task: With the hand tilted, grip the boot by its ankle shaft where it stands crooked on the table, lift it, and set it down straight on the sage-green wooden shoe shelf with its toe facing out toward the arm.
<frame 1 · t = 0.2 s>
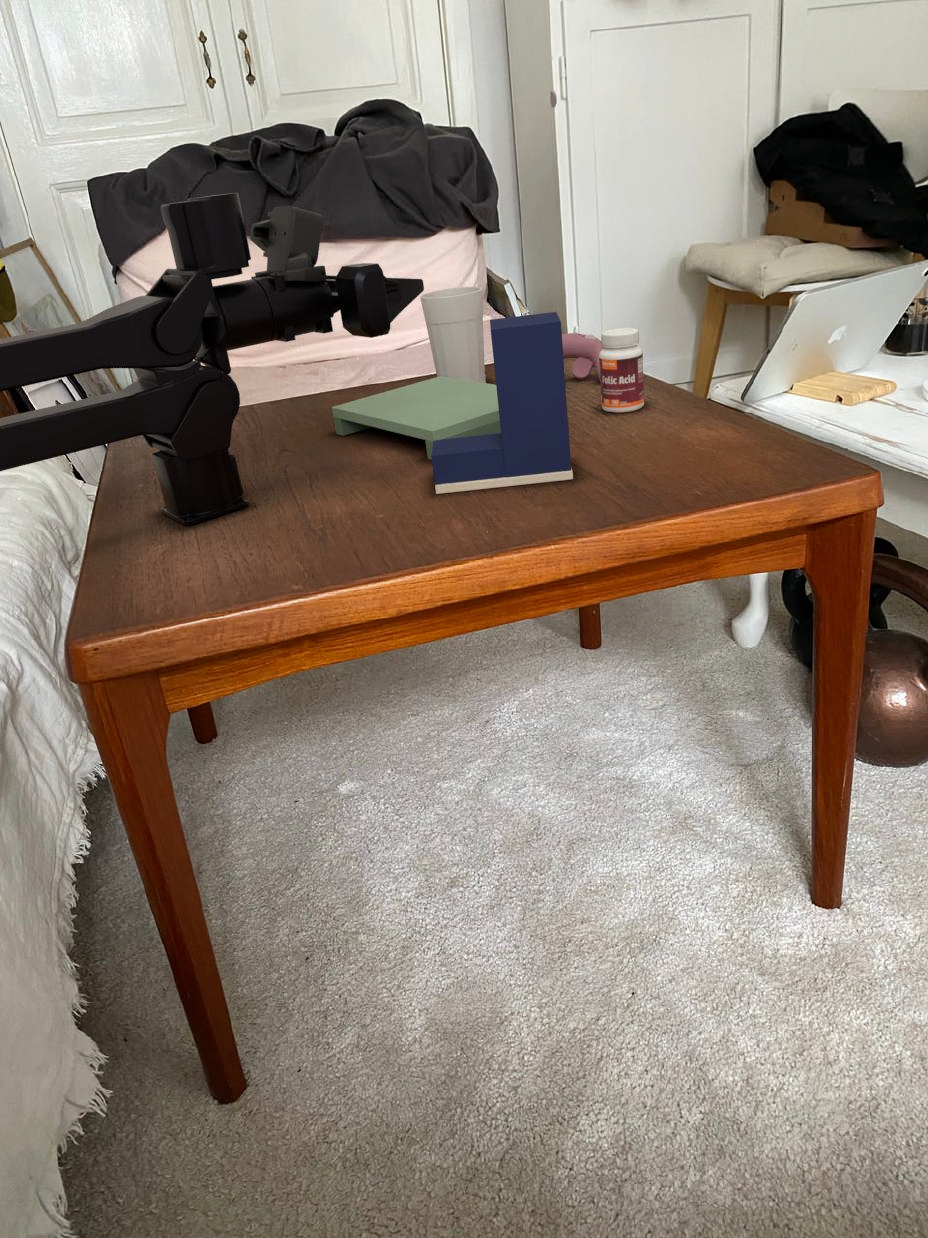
hand: (396, 283, 97), 17 cm above the table, tool horizontal, fingers open, 9 cm apart
cup: (462, 388, 125), on the table
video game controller: (569, 383, 121), on the table
shoe shelf: (441, 428, 108), on the table
boot: (537, 473, 89), on the table
pill bottle: (623, 409, 107), on the table
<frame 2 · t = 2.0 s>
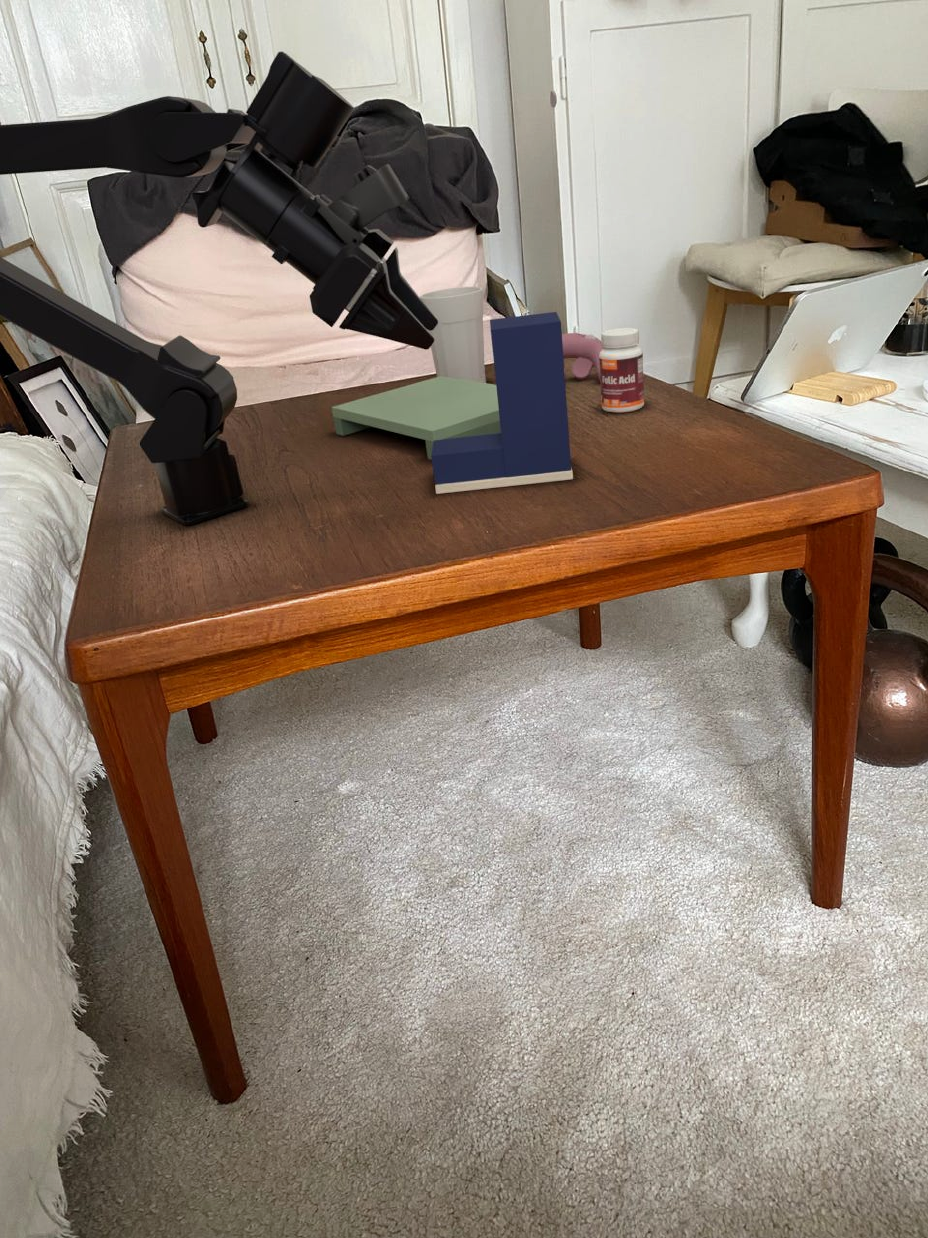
hand: (433, 335, 84), 14 cm above the table, tool tilted 45°, fingers open, 9 cm apart
nothing on the table moved.
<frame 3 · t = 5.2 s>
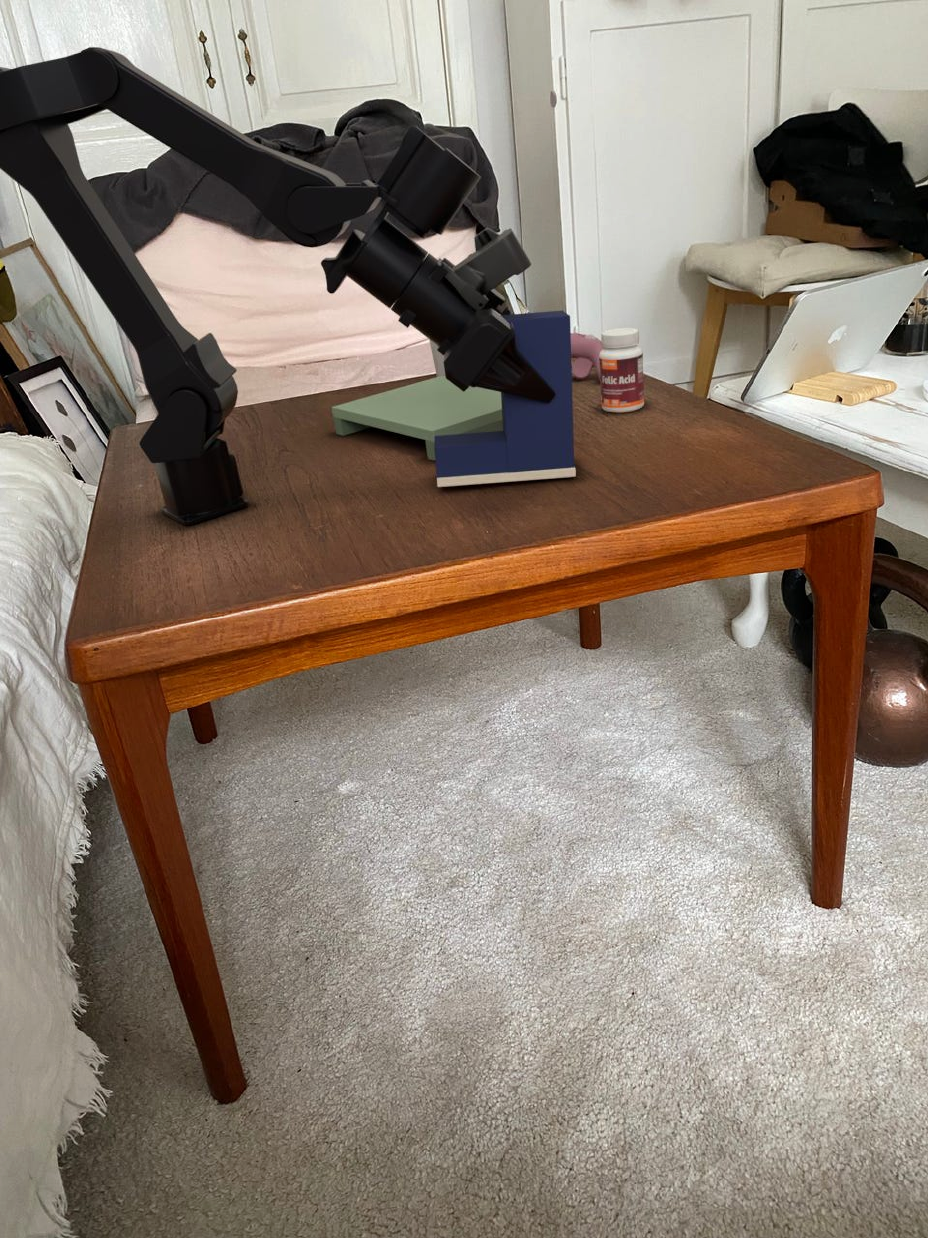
hand: (550, 390, 86), 8 cm above the table, tool tilted 45°, fingers closed on boot, 5 cm apart
boot: (538, 471, 89), on the table, touching gripper
everything else where it was.
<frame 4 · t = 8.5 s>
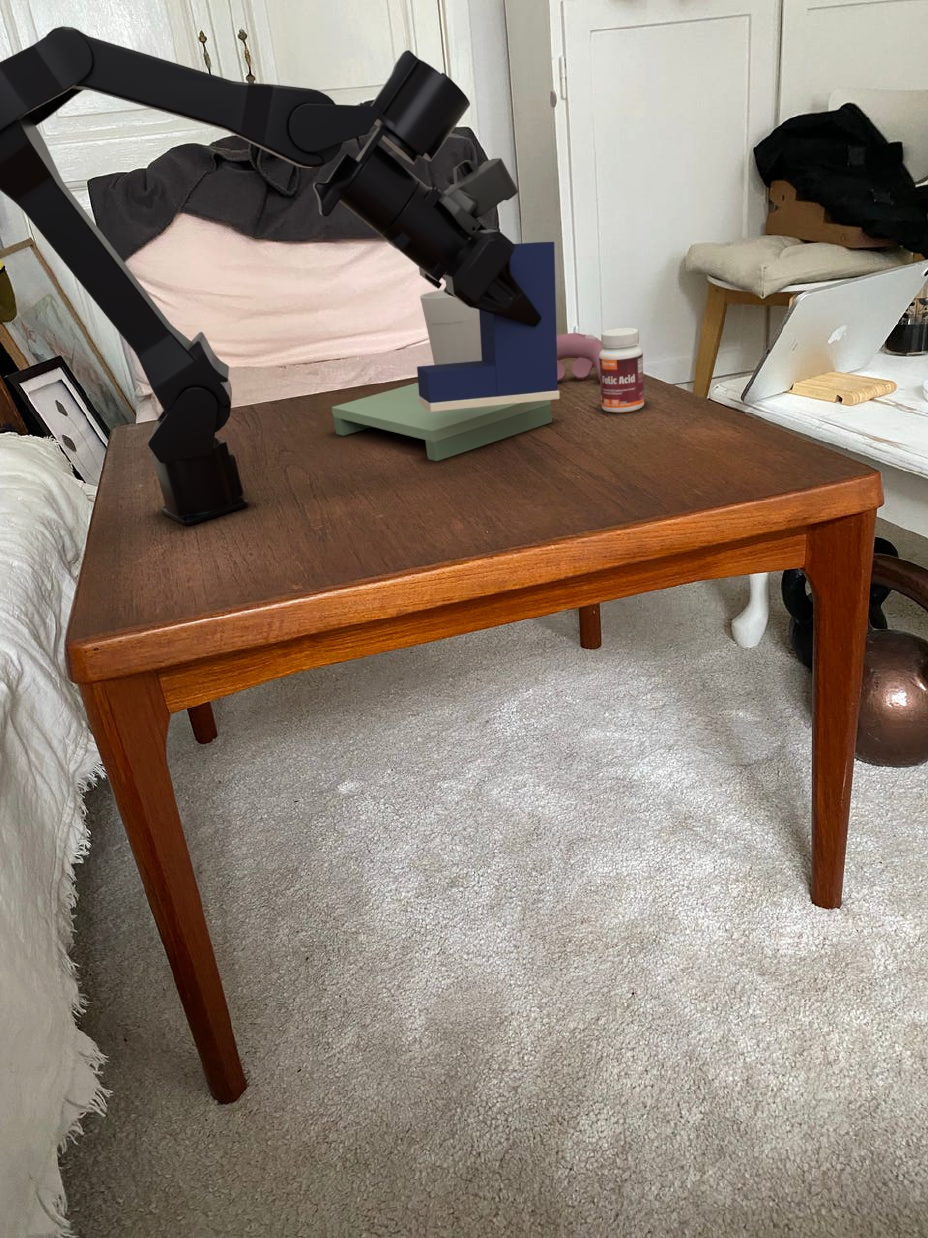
hand: (530, 318, 90), 13 cm above the table, tool tilted 45°, fingers closed on boot, 5 cm apart
boot: (520, 398, 92), point 6 cm above the table, tilted 6°, touching gripper
everything else where it was.
when the fingers open (11 cm above the table, at t = 12.3 s): boot stays where it is, resting on shoe shelf.
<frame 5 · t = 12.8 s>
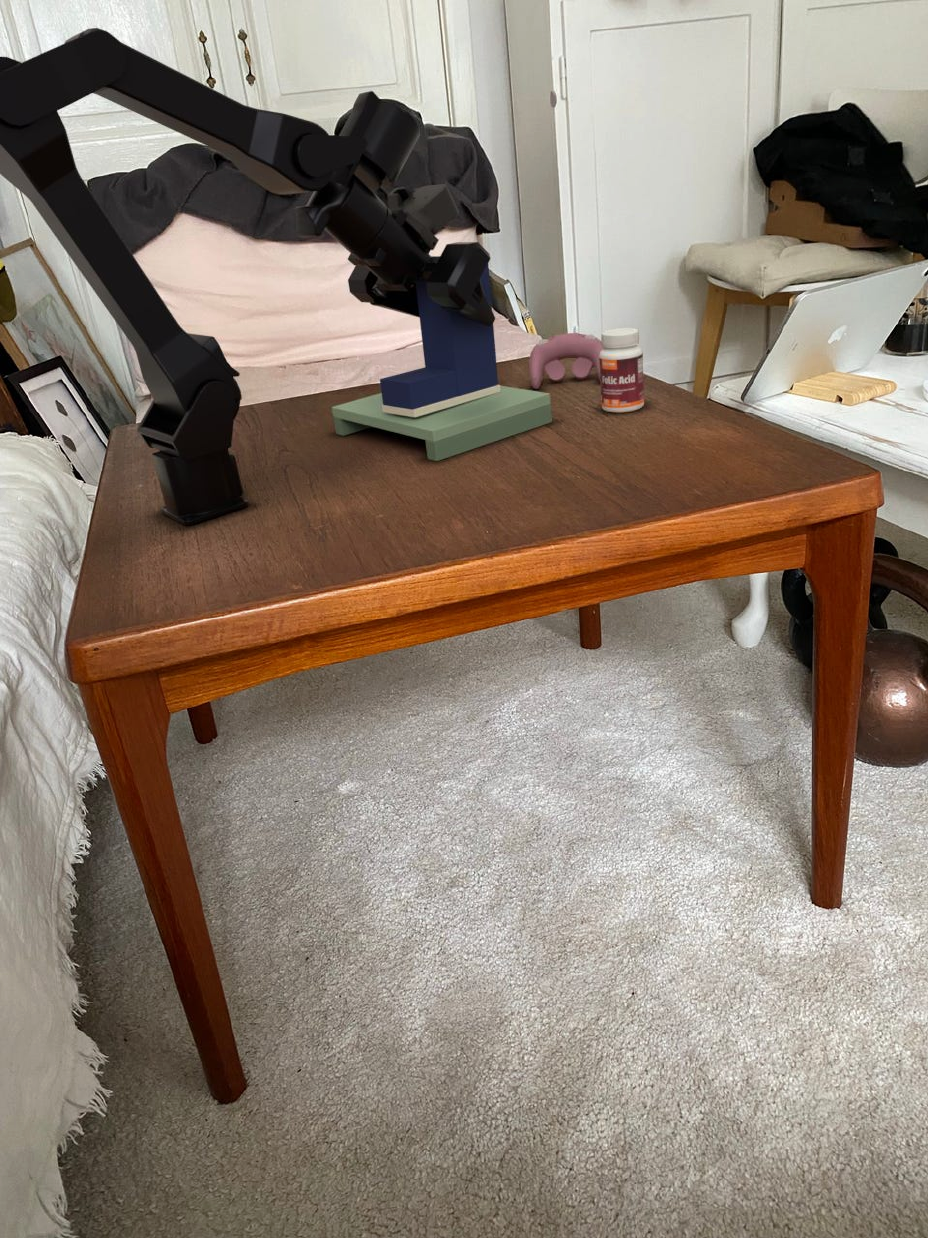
hand: (465, 320, 105), 11 cm above the table, tool tilted 45°, fingers open, 9 cm apart
boot: (463, 395, 107), point 3 cm above the table, touching gripper, shoe shelf
everything else where it was.
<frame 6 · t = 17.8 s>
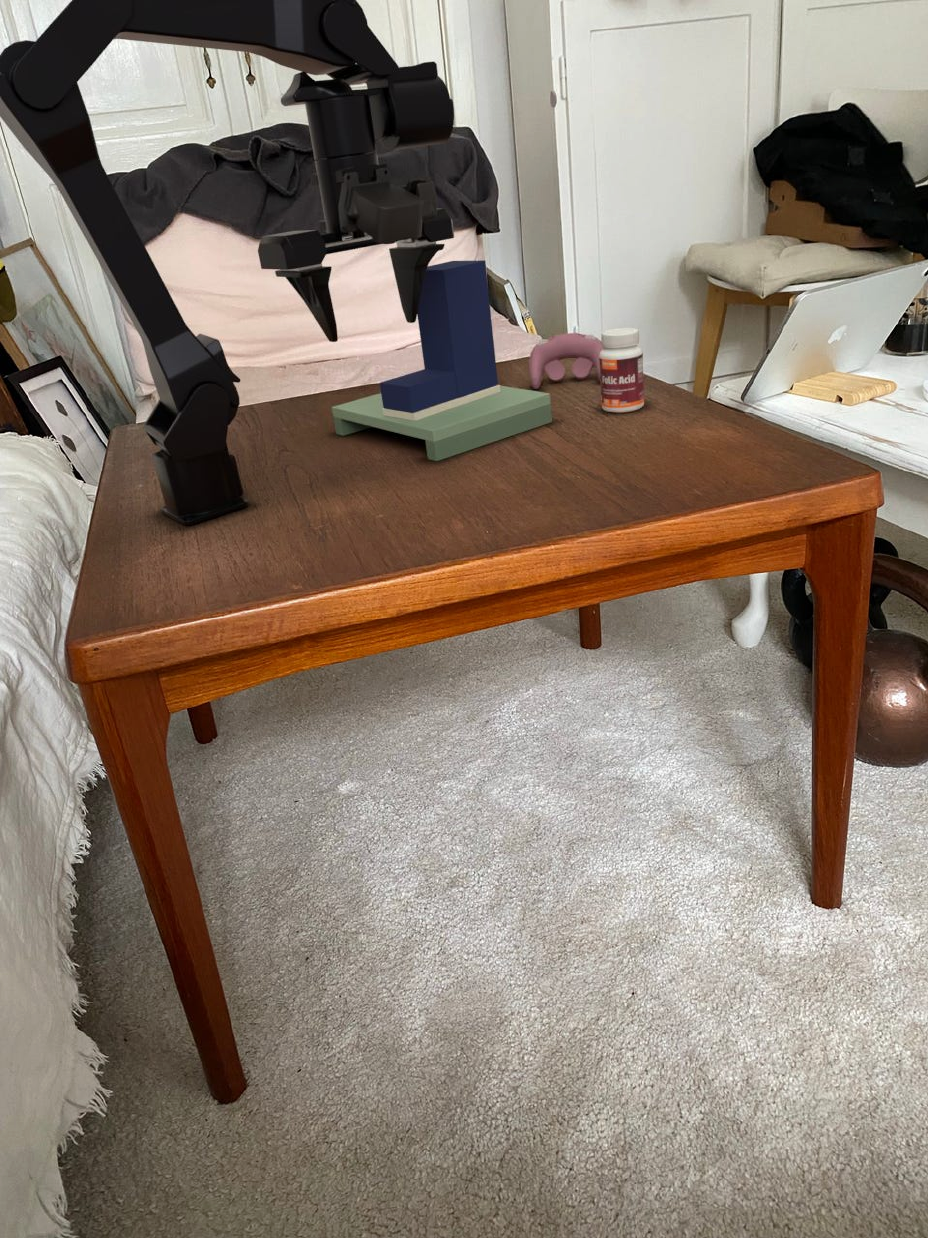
hand: (373, 331, 93), 13 cm above the table, tool pointing down, fingers open, 9 cm apart
boot: (463, 396, 107), point 3 cm above the table, touching shoe shelf
everything else where it was.
at the end: boot inside the target area on the shoe shelf (0.7 cm from its centre), point 3.2 cm above the shoe shelf's base; boot tilted 0°; boot touching shoe shelf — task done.
